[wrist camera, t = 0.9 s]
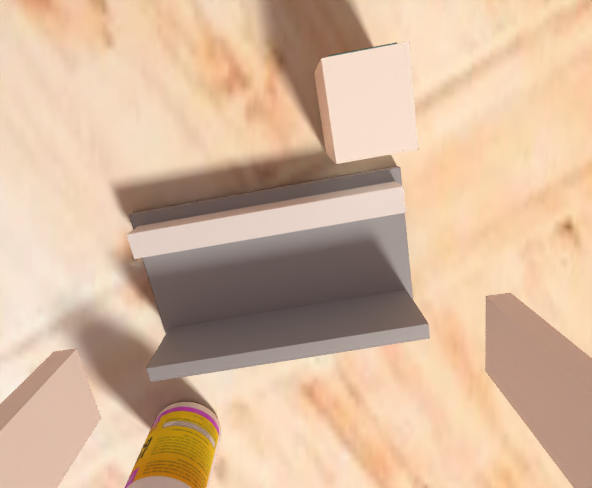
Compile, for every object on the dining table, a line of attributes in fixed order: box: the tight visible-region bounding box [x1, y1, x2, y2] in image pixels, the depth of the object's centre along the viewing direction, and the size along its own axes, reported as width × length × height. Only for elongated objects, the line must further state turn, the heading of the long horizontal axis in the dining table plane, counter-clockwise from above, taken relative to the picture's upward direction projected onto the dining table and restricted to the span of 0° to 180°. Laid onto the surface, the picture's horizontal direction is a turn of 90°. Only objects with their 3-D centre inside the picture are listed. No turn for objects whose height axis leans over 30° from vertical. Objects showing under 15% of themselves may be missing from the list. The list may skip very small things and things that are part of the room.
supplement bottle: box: [125, 402, 221, 488], centre depth 34 cm, size 7×7×13 cm
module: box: [314, 42, 418, 164], centre depth 27 cm, size 6×5×8 cm
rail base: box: [127, 166, 430, 382], centre depth 31 cm, size 12×22×7 cm, turn 100°
